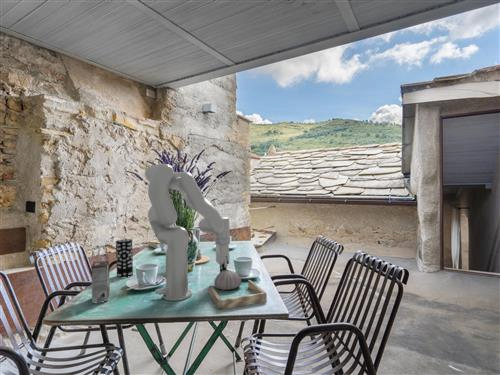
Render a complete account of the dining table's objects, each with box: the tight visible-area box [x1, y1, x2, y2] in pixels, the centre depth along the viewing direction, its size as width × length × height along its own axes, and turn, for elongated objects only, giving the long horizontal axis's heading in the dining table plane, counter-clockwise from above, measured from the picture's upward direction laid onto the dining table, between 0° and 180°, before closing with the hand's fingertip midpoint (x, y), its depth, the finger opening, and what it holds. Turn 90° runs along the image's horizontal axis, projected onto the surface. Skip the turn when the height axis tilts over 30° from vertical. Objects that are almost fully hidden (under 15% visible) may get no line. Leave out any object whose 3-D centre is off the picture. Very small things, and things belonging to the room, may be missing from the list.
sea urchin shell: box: [213, 269, 242, 291], centre depth 141 cm, size 13×14×8 cm
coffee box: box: [90, 260, 111, 304], centre depth 129 cm, size 9×6×16 cm
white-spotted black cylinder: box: [115, 238, 134, 278], centre depth 164 cm, size 8×8×20 cm
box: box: [208, 279, 268, 310], centre depth 128 cm, size 20×19×4 cm
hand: (223, 276), depth 149 cm, fingers closed
